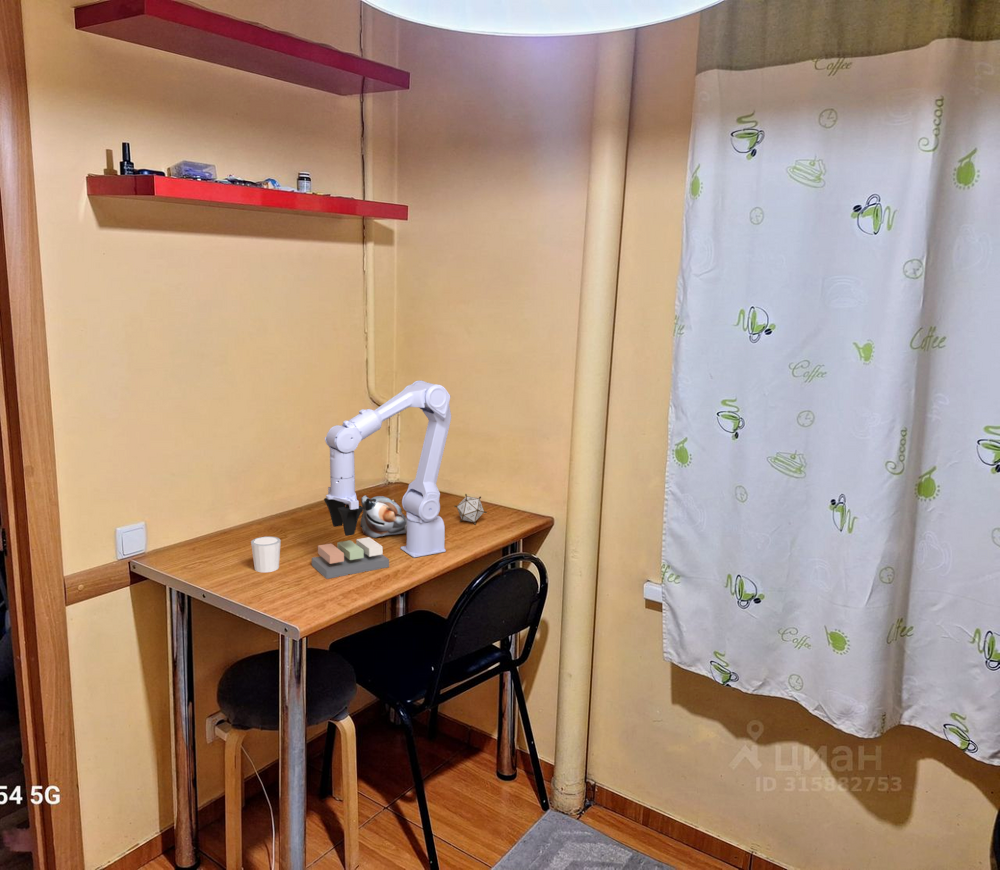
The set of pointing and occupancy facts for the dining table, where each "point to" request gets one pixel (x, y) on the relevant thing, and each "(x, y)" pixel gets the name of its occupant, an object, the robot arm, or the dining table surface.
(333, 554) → the terracotta button
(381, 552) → the off-white button
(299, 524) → the dining table surface
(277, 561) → the shot glass
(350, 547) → the sage button
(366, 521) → the lucky cat figurine
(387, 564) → the button panel
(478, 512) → the game die
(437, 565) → the dining table surface
